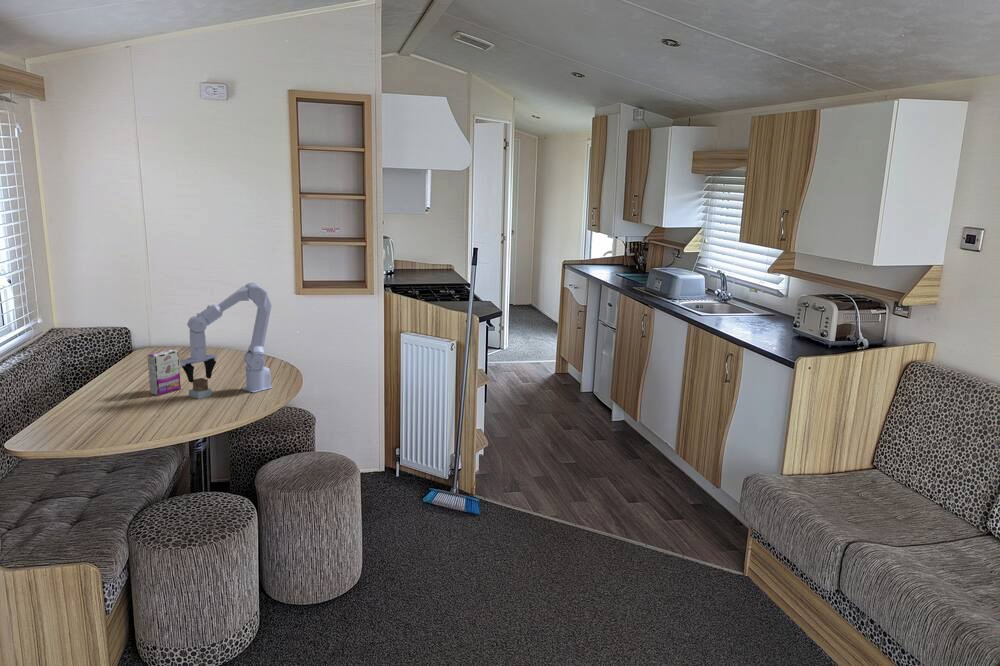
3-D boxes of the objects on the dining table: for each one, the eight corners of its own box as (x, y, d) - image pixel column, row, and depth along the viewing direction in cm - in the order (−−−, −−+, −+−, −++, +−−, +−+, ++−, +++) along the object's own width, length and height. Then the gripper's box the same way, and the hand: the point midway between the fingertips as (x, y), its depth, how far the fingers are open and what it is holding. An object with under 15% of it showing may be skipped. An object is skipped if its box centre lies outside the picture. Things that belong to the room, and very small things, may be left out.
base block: (201, 393, 288) (201, 386, 287) (211, 396, 285) (211, 389, 284) (189, 397, 283) (188, 389, 282) (198, 400, 280) (198, 392, 279)
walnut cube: (202, 387, 286) (201, 377, 285) (207, 389, 284) (207, 379, 283) (193, 389, 283) (192, 379, 282) (198, 391, 280) (198, 381, 280)
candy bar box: (172, 387, 293) (170, 348, 290) (181, 389, 291) (179, 350, 288) (149, 394, 283) (146, 354, 280) (158, 396, 281) (155, 356, 278)
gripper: (208, 342, 287) (210, 374, 290) (175, 348, 276) (177, 381, 279) (219, 344, 284) (220, 377, 286) (185, 351, 272) (187, 385, 275)
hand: (199, 379), depth 282 cm, fingers open, 7 cm apart
